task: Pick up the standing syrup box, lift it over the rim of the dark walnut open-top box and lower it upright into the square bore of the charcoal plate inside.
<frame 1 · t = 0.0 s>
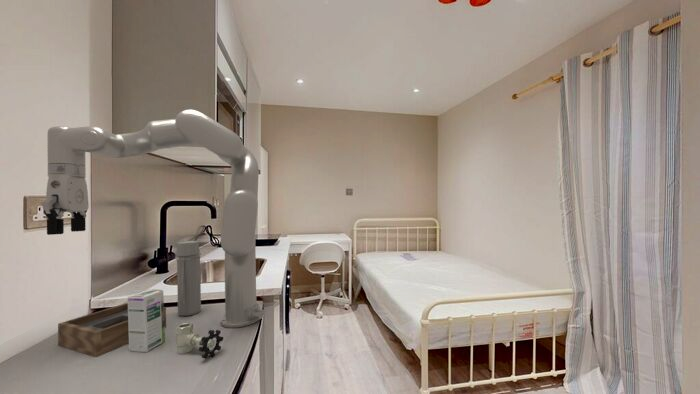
hand: (67, 232, 78), 31 cm above the worktop, tool pointing down, fingers open, 9 cm apart
water bottle: (188, 314, 98), on the worktop
syrup box: (147, 347, 75), on the worktop
valve: (195, 354, 71), on the worktop
socket box: (115, 335, 82), on the worktop
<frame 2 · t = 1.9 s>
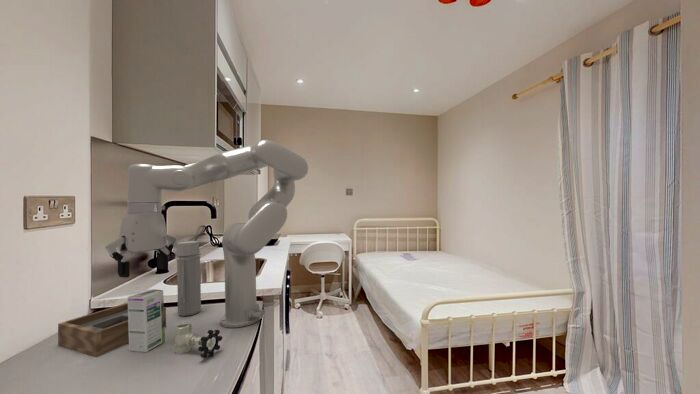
hand: (144, 272, 76), 20 cm above the worktop, tool pointing down, fingers open, 9 cm apart
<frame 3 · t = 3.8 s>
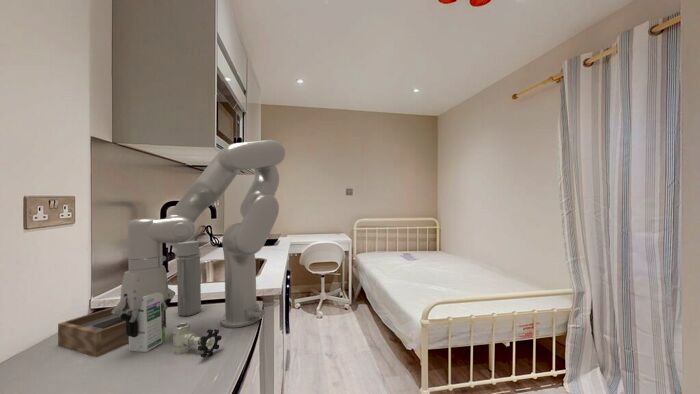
hand: (146, 329, 75), 4 cm above the worktop, tool pointing down, fingers closed on syrup box, 6 cm apart
syrup box: (146, 347, 75), on the worktop, touching gripper
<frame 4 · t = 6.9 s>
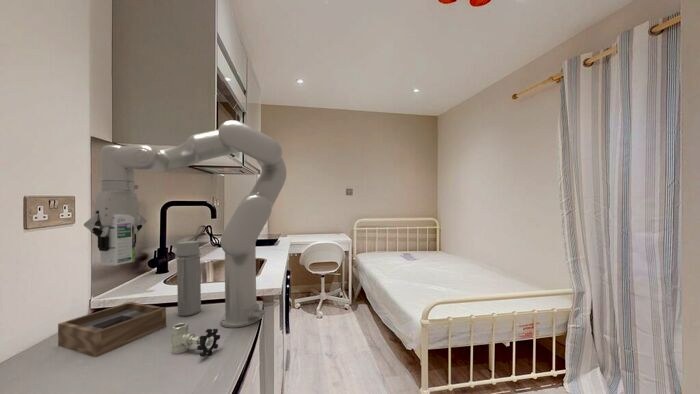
hand: (117, 248, 82), 26 cm above the worktop, tool pointing down, fingers closed on syrup box, 6 cm apart
syrup box: (117, 264, 82), point 21 cm above the worktop, touching gripper
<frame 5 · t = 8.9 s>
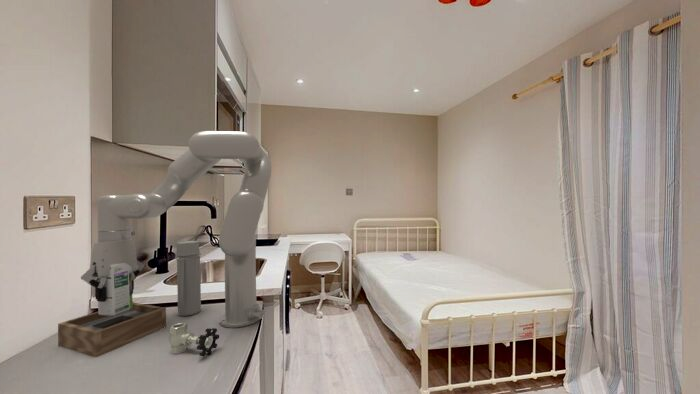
hand: (115, 296, 83), 11 cm above the worktop, tool pointing down, fingers closed on syrup box, 6 cm apart
syrup box: (115, 312, 83), point 7 cm above the worktop, touching gripper
when the fingers open (7 cm above the worktop, at t = 10.3 s): syrup box drops 1 cm, resting on socket box.
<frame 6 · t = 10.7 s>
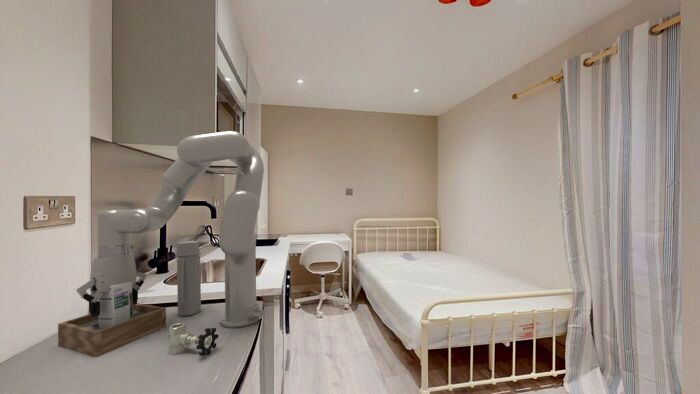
hand: (115, 309, 83), 8 cm above the worktop, tool pointing down, fingers open, 9 cm apart
syrup box: (116, 332, 82), point 1 cm above the worktop, touching socket box
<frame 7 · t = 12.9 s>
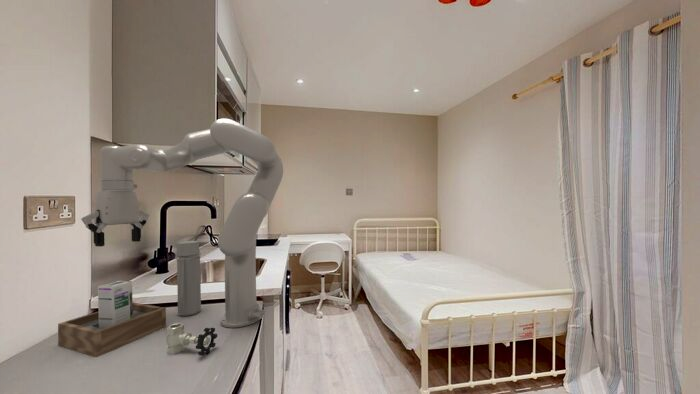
hand: (118, 243, 84), 27 cm above the worktop, tool pointing down, fingers open, 9 cm apart
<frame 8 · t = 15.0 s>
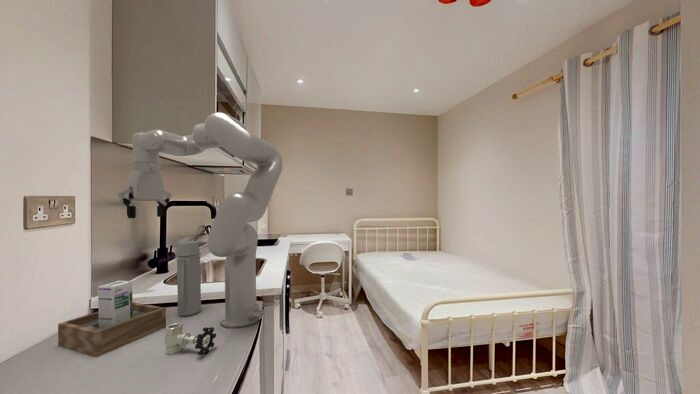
hand: (147, 217, 97), 34 cm above the worktop, tool pointing down, fingers open, 9 cm apart
at the end: syrup box 0.2 cm off-centre on the socket box, point 0.8 cm above the socket box's base; syrup box tilted 0°; the gripper is holding nothing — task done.
